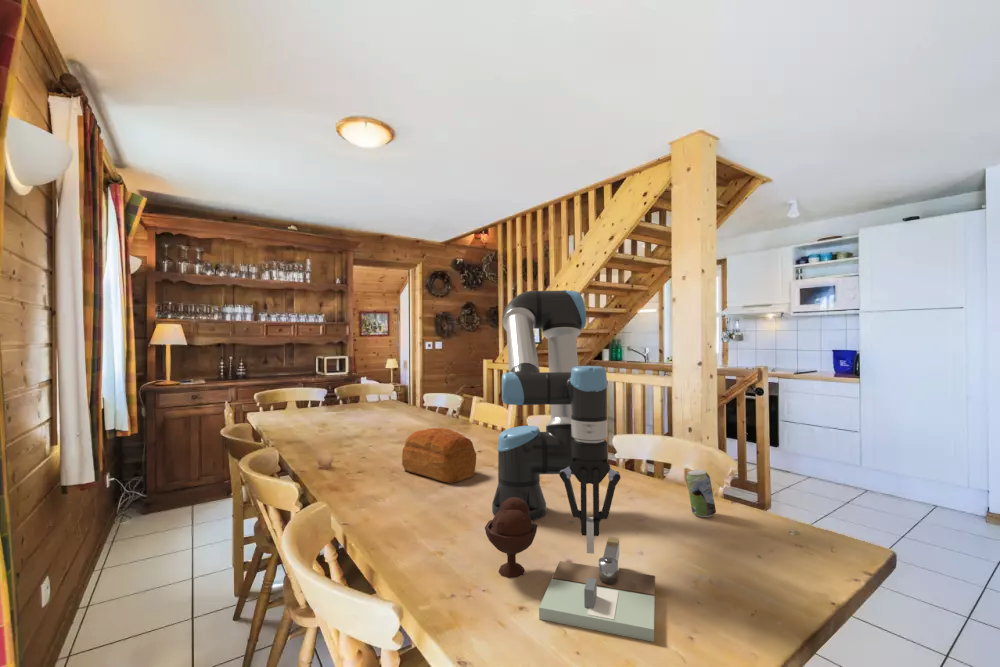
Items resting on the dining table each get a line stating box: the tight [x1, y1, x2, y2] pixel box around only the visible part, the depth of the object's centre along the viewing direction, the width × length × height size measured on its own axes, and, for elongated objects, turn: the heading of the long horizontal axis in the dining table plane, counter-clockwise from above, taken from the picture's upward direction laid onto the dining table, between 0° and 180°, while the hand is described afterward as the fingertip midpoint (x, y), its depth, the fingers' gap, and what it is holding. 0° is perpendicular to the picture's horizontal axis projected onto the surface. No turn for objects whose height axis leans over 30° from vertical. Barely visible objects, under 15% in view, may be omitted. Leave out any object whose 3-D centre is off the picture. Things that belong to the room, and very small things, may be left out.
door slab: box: [538, 578, 656, 643], centre depth 82 cm, size 19×10×5 cm, turn 71°
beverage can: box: [685, 469, 717, 518], centre depth 126 cm, size 6×7×12 cm
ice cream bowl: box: [484, 497, 538, 579], centre depth 97 cm, size 11×11×15 cm
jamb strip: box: [551, 560, 656, 597], centre depth 91 cm, size 19×7×2 cm, turn 71°
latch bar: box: [598, 536, 620, 583], centre depth 93 cm, size 12×4×4 cm, turn 161°
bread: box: [401, 427, 477, 484], centre depth 167 cm, size 16×27×16 cm, turn 49°
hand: (590, 550), depth 98 cm, fingers closed
